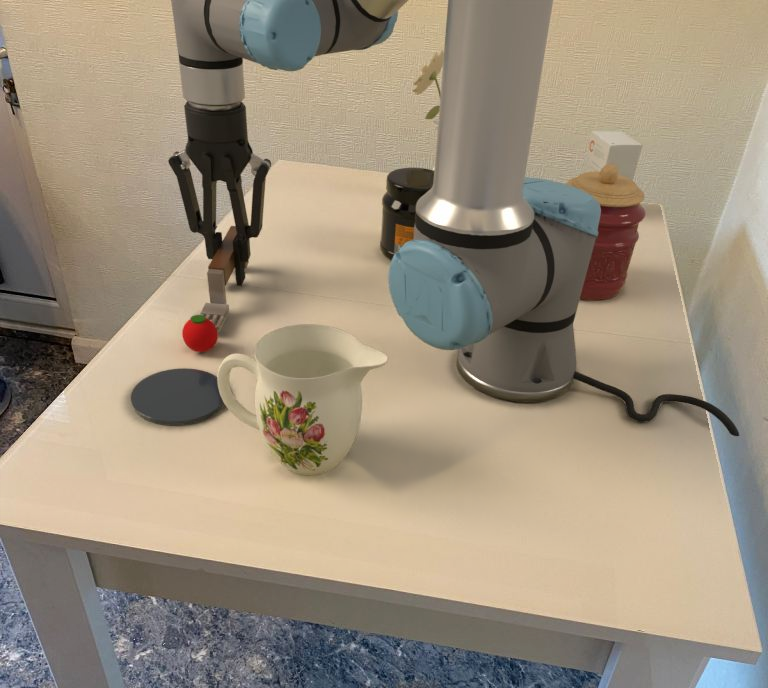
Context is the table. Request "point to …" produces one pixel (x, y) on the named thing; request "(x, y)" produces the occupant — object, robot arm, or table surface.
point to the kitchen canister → (611, 230)
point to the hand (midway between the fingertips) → (231, 280)
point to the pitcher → (304, 393)
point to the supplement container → (402, 206)
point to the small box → (612, 152)
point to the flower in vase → (427, 80)
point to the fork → (220, 280)
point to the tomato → (200, 334)
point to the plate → (177, 397)
